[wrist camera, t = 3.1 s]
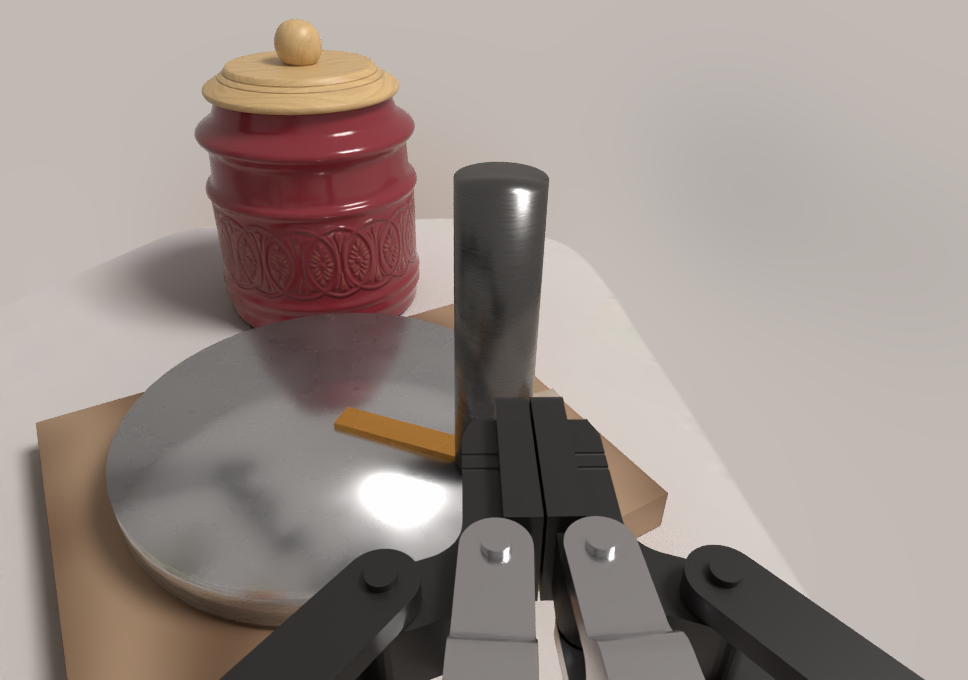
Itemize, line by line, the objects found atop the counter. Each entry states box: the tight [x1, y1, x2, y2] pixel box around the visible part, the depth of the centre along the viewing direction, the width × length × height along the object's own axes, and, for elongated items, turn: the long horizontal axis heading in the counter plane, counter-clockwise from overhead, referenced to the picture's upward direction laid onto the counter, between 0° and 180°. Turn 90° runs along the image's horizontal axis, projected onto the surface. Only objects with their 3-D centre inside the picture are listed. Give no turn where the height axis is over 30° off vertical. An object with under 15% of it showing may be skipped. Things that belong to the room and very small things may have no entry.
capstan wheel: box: [106, 162, 549, 627], centre depth 28 cm, size 18×18×14 cm
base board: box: [36, 304, 668, 680], centre depth 32 cm, size 23×19×2 cm
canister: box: [195, 19, 420, 328], centre depth 44 cm, size 13×13×18 cm
